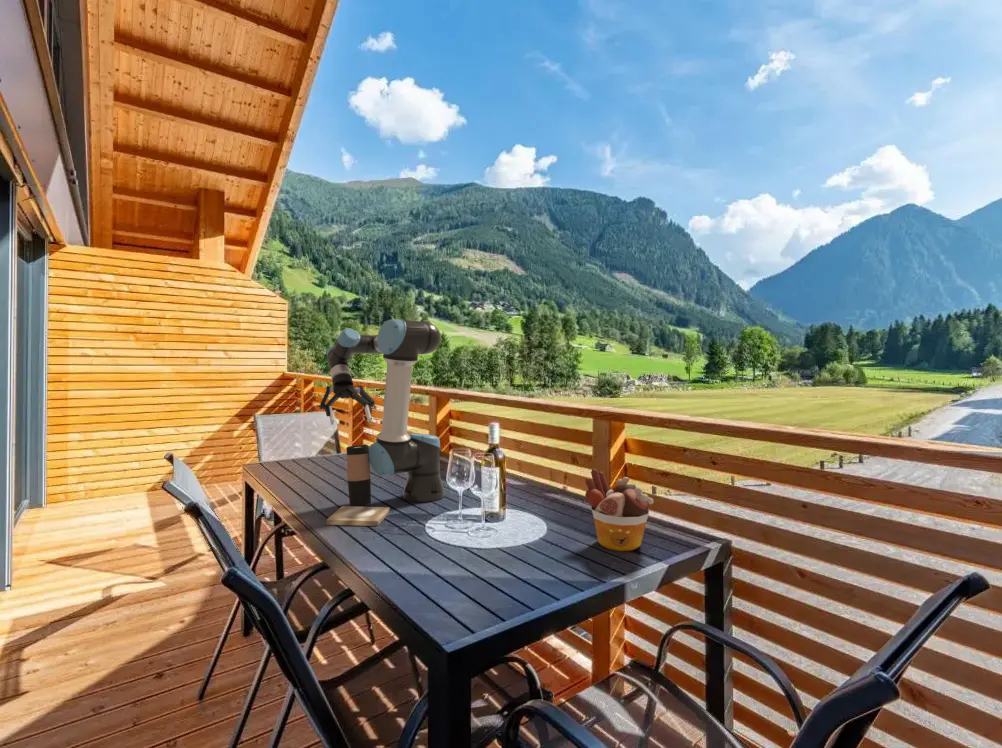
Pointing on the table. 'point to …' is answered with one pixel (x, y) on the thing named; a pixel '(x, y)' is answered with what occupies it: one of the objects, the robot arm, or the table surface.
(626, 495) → the bucket of meat
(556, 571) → the table surface
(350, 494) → the travel mug
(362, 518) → the coaster board
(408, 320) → the robot arm
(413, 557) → the table surface
